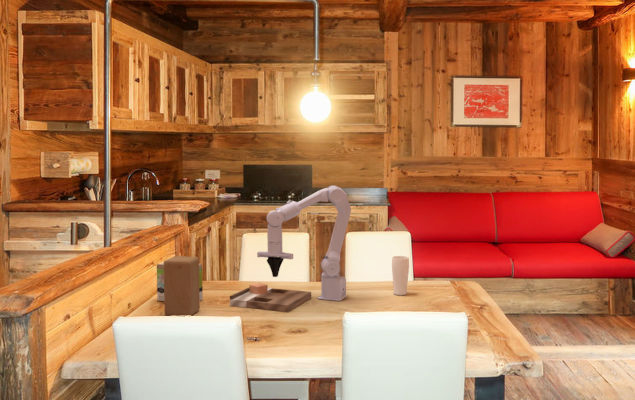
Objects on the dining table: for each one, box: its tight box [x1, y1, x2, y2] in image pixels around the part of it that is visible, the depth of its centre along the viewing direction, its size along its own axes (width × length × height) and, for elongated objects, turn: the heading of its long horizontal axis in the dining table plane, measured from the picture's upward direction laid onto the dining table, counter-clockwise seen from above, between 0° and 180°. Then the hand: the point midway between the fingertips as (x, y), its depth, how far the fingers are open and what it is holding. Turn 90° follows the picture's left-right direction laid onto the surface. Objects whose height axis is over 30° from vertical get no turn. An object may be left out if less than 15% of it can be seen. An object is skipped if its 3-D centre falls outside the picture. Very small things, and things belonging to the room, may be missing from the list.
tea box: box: [156, 262, 204, 302], centre depth 251 cm, size 15×10×15 cm, turn 62°
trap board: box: [229, 286, 312, 313], centre depth 249 cm, size 24×22×4 cm
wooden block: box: [162, 255, 201, 316], centre depth 233 cm, size 10×10×20 cm
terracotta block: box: [249, 282, 269, 295], centre depth 254 cm, size 5×5×3 cm
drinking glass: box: [391, 255, 410, 296], centre depth 260 cm, size 7×7×15 cm
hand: (275, 276), depth 251 cm, fingers closed
